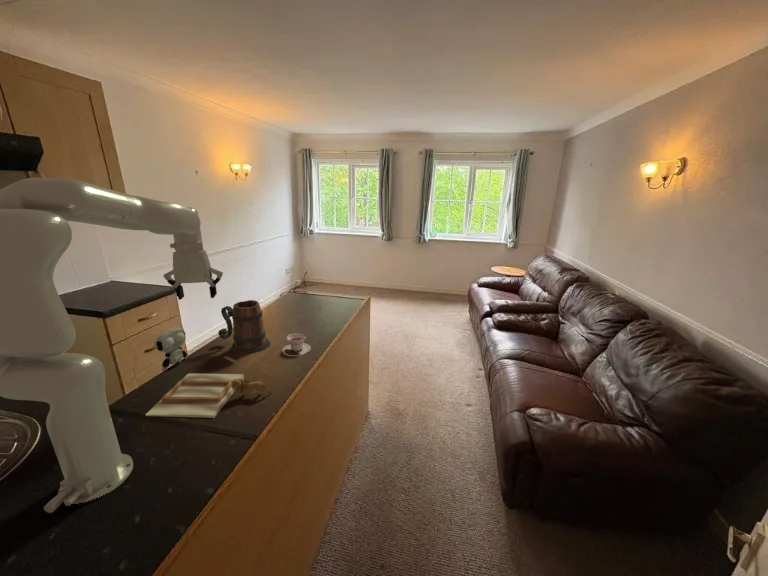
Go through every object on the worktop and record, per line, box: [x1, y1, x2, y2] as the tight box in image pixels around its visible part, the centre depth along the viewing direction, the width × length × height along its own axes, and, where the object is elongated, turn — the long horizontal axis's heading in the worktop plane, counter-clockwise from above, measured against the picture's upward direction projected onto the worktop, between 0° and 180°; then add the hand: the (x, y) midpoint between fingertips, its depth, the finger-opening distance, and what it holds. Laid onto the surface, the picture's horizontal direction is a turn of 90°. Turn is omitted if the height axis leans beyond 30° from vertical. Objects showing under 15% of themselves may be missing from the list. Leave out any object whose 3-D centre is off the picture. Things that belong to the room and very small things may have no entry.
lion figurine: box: [232, 378, 272, 400], centre depth 103 cm, size 12×4×7 cm, turn 107°
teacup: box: [281, 332, 311, 357], centre depth 134 cm, size 12×12×6 cm
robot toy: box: [152, 324, 189, 372], centre depth 119 cm, size 12×4×15 cm, turn 166°
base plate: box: [145, 373, 245, 419], centre depth 103 cm, size 22×20×3 cm
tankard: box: [218, 299, 272, 355], centre depth 135 cm, size 24×17×20 cm
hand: (197, 297), depth 104 cm, fingers open, 9 cm apart
